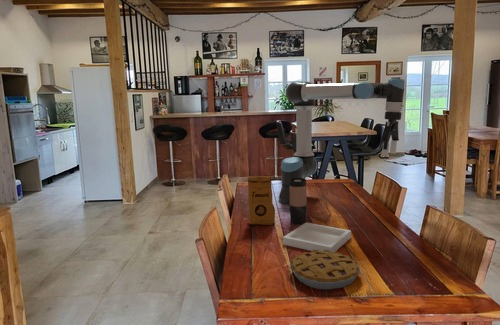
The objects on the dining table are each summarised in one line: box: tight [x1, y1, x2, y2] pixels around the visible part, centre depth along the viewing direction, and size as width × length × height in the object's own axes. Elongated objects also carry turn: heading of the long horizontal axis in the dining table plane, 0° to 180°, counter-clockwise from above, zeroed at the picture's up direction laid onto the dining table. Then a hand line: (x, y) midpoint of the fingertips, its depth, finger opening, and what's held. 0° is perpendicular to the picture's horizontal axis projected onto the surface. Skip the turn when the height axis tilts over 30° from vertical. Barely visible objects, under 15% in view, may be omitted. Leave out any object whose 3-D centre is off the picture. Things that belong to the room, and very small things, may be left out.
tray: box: [282, 221, 352, 252], centre depth 148 cm, size 20×20×3 cm
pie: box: [289, 250, 361, 290], centre depth 120 cm, size 22×22×5 cm
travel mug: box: [289, 178, 308, 226], centre depth 169 cm, size 8×8×20 cm
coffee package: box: [247, 176, 276, 226], centre depth 170 cm, size 10×12×22 cm
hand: (388, 154), depth 184 cm, fingers open, 13 cm apart
